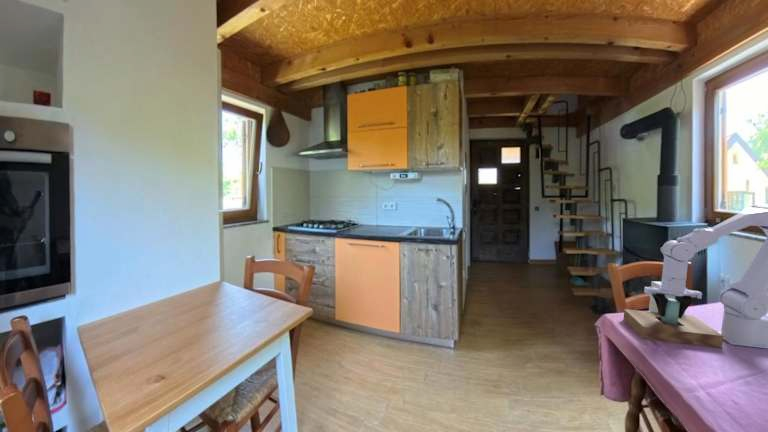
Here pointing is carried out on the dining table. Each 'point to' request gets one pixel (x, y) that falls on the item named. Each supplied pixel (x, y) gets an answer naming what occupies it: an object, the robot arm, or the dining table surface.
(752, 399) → the dining table surface
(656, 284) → the supplement box
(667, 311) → the peg
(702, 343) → the socket block
